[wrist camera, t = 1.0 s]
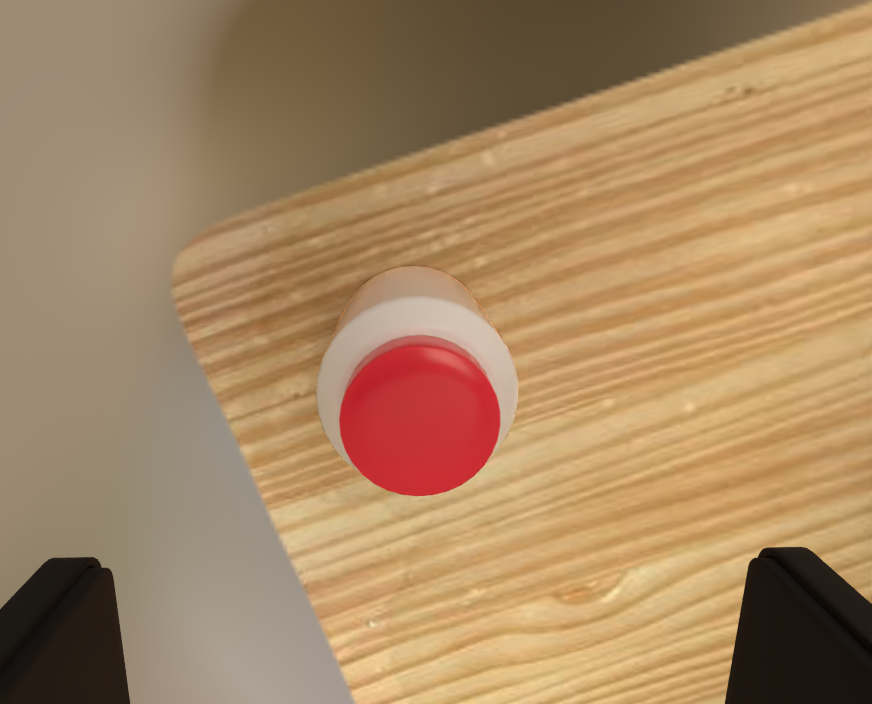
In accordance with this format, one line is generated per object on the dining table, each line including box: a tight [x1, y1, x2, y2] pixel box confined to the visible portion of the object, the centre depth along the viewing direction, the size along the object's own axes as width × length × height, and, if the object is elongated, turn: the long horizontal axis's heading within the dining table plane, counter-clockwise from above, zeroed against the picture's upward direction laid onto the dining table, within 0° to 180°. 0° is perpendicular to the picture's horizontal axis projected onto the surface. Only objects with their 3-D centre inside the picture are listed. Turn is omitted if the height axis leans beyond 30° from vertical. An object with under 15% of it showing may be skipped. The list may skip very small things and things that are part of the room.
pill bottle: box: [316, 266, 518, 496], centre depth 20 cm, size 6×6×8 cm
